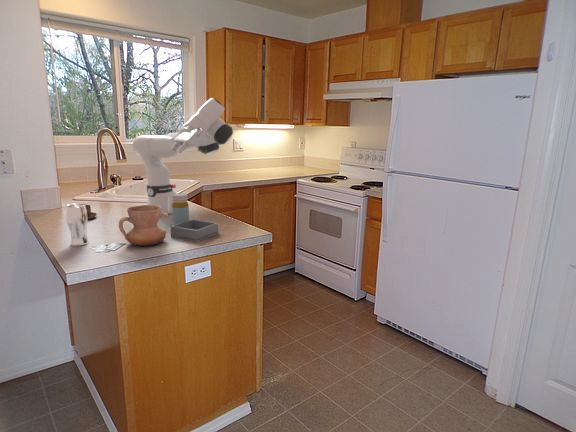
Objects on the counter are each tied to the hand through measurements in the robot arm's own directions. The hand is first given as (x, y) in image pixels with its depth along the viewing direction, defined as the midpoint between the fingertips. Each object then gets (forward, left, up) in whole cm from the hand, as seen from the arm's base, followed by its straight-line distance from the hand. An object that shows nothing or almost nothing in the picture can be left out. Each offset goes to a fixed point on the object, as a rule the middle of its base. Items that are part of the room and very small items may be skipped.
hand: (175, 151), depth 166 cm
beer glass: (+38, -15, -34) cm, 53 cm away
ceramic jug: (+25, +6, -34) cm, 43 cm away
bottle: (+1, +2, -34) cm, 34 cm away
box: (+7, +15, -33) cm, 37 cm away
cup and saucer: (+13, -48, -34) cm, 61 cm away
